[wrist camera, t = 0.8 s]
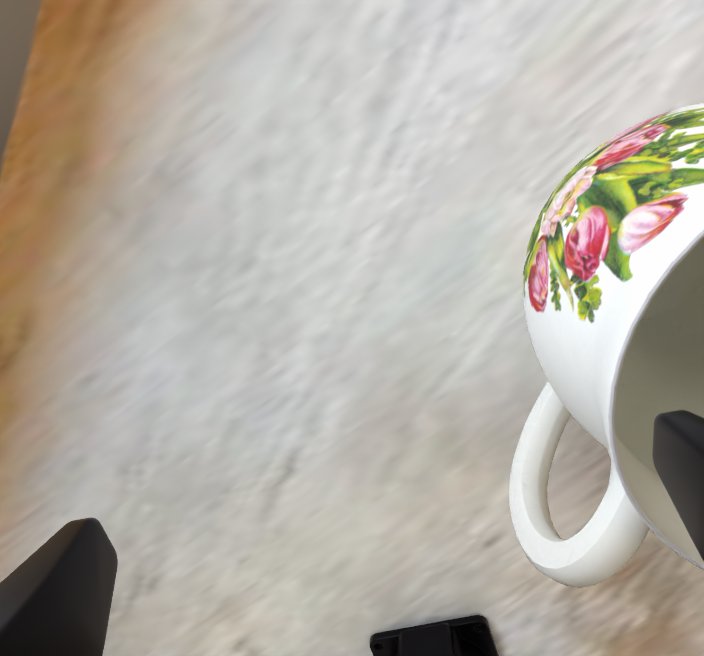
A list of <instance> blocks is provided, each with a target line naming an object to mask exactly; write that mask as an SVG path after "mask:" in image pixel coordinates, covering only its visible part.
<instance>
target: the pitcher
mask: <svg viewBox="0 0 704 656" xmlns="http://www.w3.org/2000/svg"><path fill="white" fill-rule="evenodd" d="M523 299H524V308H525V316H526V323H527V327H528V331H529V334H530V338H531V342H532V345H533V348H534V351H535V353H536V356H537V358H538V360H539V363H540V365H541V367H542V370H543V372H544V374H545V376H546V378H547V379H548V382H547V384H546V385H545V387H544V389H543V390H542V392H541V394H540V395H539V397H538V399H537V401H536V403H535V405H534V406H533V408H532V410H531V413H530V415H529V417H528V419H527V421H526V424H525V426H524V429H523V431H522V434H521V437H520V440H519V443H518V445H517V448H516V452H515V456H514V460H513V463H512V468H511V475H510V481H509V503H510V510H511V518H512V521H513V525H514V528H515V532H516V535H517V538H518V540H519V542H520V544H521V546H522V548H523V550H524V552H525V554H526V556H527V558H528V559H529V560H530V562H531V563H532V564H533V565H534V566H535V567H536V569H537V570H539V571H540V572H542V573H544V574H545V575H547V576H549V577H550V578H552V579H553V580H555V581H557V582H559V583H561V584H564V585H566V586H572V587H578V588H582V587H587V586H592V585H596V584H598V583H601V582H603V581H605V580H606V579H608V578H610V577H612V576H613V575H615V574H616V573H617V572H618V571H619V570H620V569H621V568H622V567H623V566H624V565H625V564H626V563H627V562H628V561H629V560H630V559H631V557H632V556H633V555H634V553H635V552H636V551H637V549H638V548H639V546H640V545H641V543H642V542H643V540H644V538H645V537H646V535H647V533H648V531H649V529H651V530H652V531H653V532H654V534H655V535H656V536H657V537H658V538H659V539H661V540H662V541H663V542H664V543H665V544H666V545H668V546H669V547H670V548H671V549H672V550H673V551H675V552H676V553H677V554H679V555H680V556H682V557H683V558H685V559H686V560H688V561H690V562H691V563H693V564H694V565H696V566H697V567H699V568H701V569H703V570H704V561H703V559H702V558H701V556H700V554H699V552H698V550H697V548H696V547H695V545H694V543H693V541H692V539H691V537H690V535H689V533H688V531H687V529H686V527H685V525H684V524H683V522H682V520H681V518H680V516H679V514H678V512H677V510H676V508H675V506H674V504H673V502H672V500H671V498H670V496H669V494H668V492H667V491H666V489H665V487H664V485H663V483H662V481H661V479H660V477H659V475H658V473H657V471H656V469H655V466H654V463H653V457H652V451H653V431H654V420H655V418H656V416H657V415H659V414H661V413H665V412H671V411H676V410H686V411H689V412H691V413H694V414H696V415H698V416H701V417H703V418H704V103H700V104H695V105H690V106H685V107H682V108H679V109H676V110H673V111H670V112H667V113H664V114H661V115H659V116H656V117H653V118H650V119H647V120H645V121H643V122H641V123H639V124H637V125H634V126H632V127H630V128H628V129H626V130H624V131H623V132H621V133H619V134H618V135H616V136H615V137H613V138H611V139H610V140H608V141H607V142H605V143H603V144H602V145H600V146H599V147H597V148H596V149H595V150H594V151H592V152H591V153H590V154H589V155H587V156H586V157H585V158H584V159H582V160H581V161H580V162H579V163H578V164H577V165H576V166H575V167H574V168H573V169H572V170H571V171H570V172H569V173H568V174H567V175H566V176H565V177H564V179H563V180H562V181H561V183H560V184H559V185H558V186H557V188H556V189H555V190H554V192H553V193H552V194H551V196H550V198H549V199H548V201H547V203H546V204H545V206H544V208H543V209H542V211H541V213H540V215H539V217H538V220H537V222H536V224H535V226H534V229H533V232H532V235H531V238H530V241H529V245H528V248H527V254H526V260H525V266H524V272H523ZM571 415H572V416H573V417H574V418H575V419H576V420H577V422H578V423H579V424H580V425H581V426H582V427H583V428H584V429H585V430H586V431H587V432H588V433H589V434H590V435H591V436H592V437H594V438H595V439H596V440H597V441H598V442H600V443H601V444H602V445H603V446H604V447H606V448H607V450H608V453H609V455H610V458H611V461H612V462H611V472H610V480H609V487H608V489H607V491H606V493H605V496H604V498H603V500H602V502H601V503H600V505H599V507H598V509H597V510H596V512H595V514H594V515H593V517H592V518H591V519H590V521H589V522H588V523H587V525H586V526H585V527H584V528H583V529H582V530H581V531H580V532H579V533H578V534H576V535H575V536H573V537H571V538H570V539H568V540H563V539H561V538H560V536H559V535H558V533H557V532H556V530H555V529H554V526H553V523H552V521H551V518H550V513H549V507H548V502H547V485H548V477H549V471H550V468H551V464H552V460H553V457H554V454H555V451H556V448H557V445H558V442H559V440H560V437H561V434H562V432H563V430H564V427H565V425H566V423H567V421H568V419H569V417H570V416H571Z"/></svg>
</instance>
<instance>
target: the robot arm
mask: <svg viewBox="0 0 704 656" xmlns="http://www.w3.org/2000/svg"><path fill="white" fill-rule="evenodd" d="M652 457H653V463H654V466H655V469H656V471H657V473H658V475H659V477H660V479H661V481H662V483H663V485H664V487H665V489H666V491H667V492H668V494H669V496H670V498H671V500H672V502H673V504H674V506H675V508H676V510H677V512H678V514H679V516H680V518H681V520H682V522H683V524H684V525H685V527H686V529H687V531H688V533H689V535H690V537H691V539H692V541H693V543H694V545H695V547H696V548H697V550H698V552H699V554H700V556H701V558H702V559H703V561H704V418H703V417H701V416H698V415H696V414H694V413H691V412H689V411H686V410H676V411H671V412H665V413H661V414H659V415H657V416H656V418H655V420H654V431H653V451H652ZM117 565H118V560H117V554H116V551H115V549H114V547H113V545H112V544H111V542H110V540H109V538H108V536H107V534H106V533H105V531H104V529H103V527H102V525H101V524H100V522H99V521H98V520H97V519H95V518H85V519H80V520H75V521H71V522H69V523H67V524H66V525H65V526H64V527H62V528H61V529H60V530H59V531H58V532H57V533H56V534H55V535H54V536H52V537H51V538H50V539H49V540H48V541H47V542H46V543H45V544H44V545H42V546H41V547H40V548H39V549H38V550H37V551H36V552H35V553H33V554H32V555H31V556H30V557H29V558H28V559H27V560H26V561H25V562H23V563H22V564H21V565H20V566H19V567H18V568H17V569H16V570H15V571H13V572H12V573H11V574H10V575H9V576H8V577H7V578H6V579H4V580H3V581H2V582H1V583H0V656H102V654H103V649H104V644H105V638H106V632H107V626H108V620H109V614H110V608H111V602H112V596H113V590H114V584H115V578H116V572H117ZM476 625H480V626H476ZM370 648H371V651H372V653H373V655H374V656H499V655H498V652H497V649H496V646H495V643H494V640H493V637H492V634H491V631H490V628H489V625H488V622H487V619H486V618H485V617H483V616H480V615H475V616H469V617H464V618H458V619H453V620H447V621H442V622H436V623H431V624H425V625H420V626H414V627H409V628H403V629H398V630H392V631H387V632H381V633H376V634H373V635H372V636H371V638H370Z"/></svg>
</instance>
